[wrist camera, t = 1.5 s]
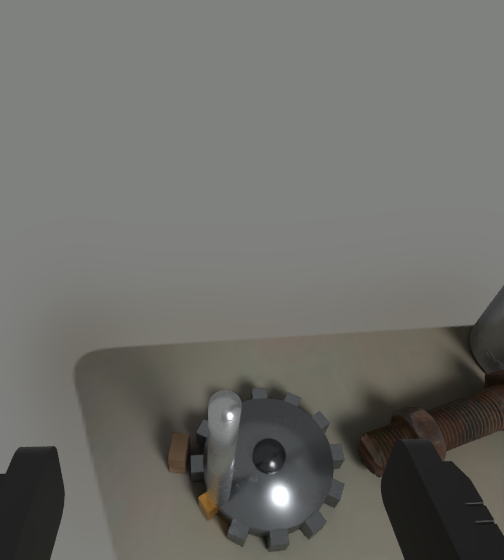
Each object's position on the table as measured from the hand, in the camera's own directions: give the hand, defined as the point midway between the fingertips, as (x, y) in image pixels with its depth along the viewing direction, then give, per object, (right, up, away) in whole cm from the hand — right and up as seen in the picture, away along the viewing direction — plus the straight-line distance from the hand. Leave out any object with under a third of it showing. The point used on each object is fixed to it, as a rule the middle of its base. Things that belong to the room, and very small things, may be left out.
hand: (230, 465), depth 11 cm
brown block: (-5, -9, +24) cm, 26 cm away
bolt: (+16, -9, +27) cm, 33 cm away
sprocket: (+2, -10, +24) cm, 26 cm away
